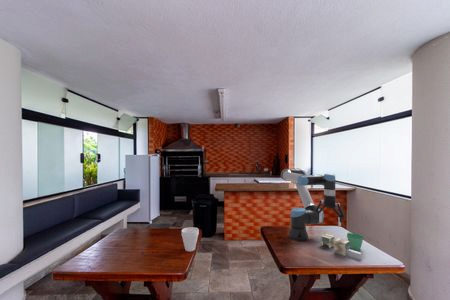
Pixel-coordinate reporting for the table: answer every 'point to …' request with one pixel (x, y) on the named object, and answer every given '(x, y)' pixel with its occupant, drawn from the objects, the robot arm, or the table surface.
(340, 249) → the cream toy block
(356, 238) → the mug
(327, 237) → the cream patterned block
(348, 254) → the rail board
